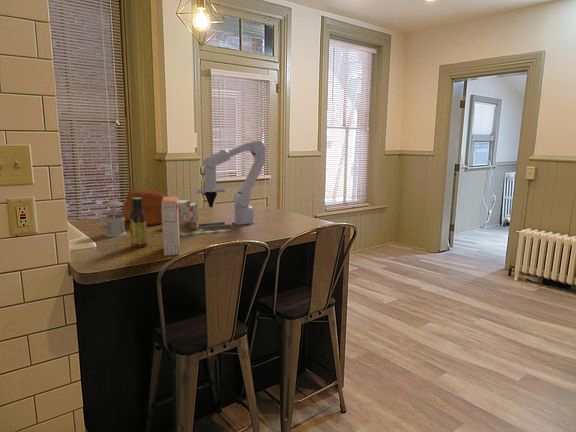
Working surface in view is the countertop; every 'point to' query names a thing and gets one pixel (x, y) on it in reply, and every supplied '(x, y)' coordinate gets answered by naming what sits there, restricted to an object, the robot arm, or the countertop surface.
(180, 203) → the stack of blocks
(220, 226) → the channel rails
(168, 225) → the cracker box
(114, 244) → the countertop surface
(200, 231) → the chute board
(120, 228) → the french press
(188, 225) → the walnut block
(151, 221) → the bread
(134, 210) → the sauce bottle
